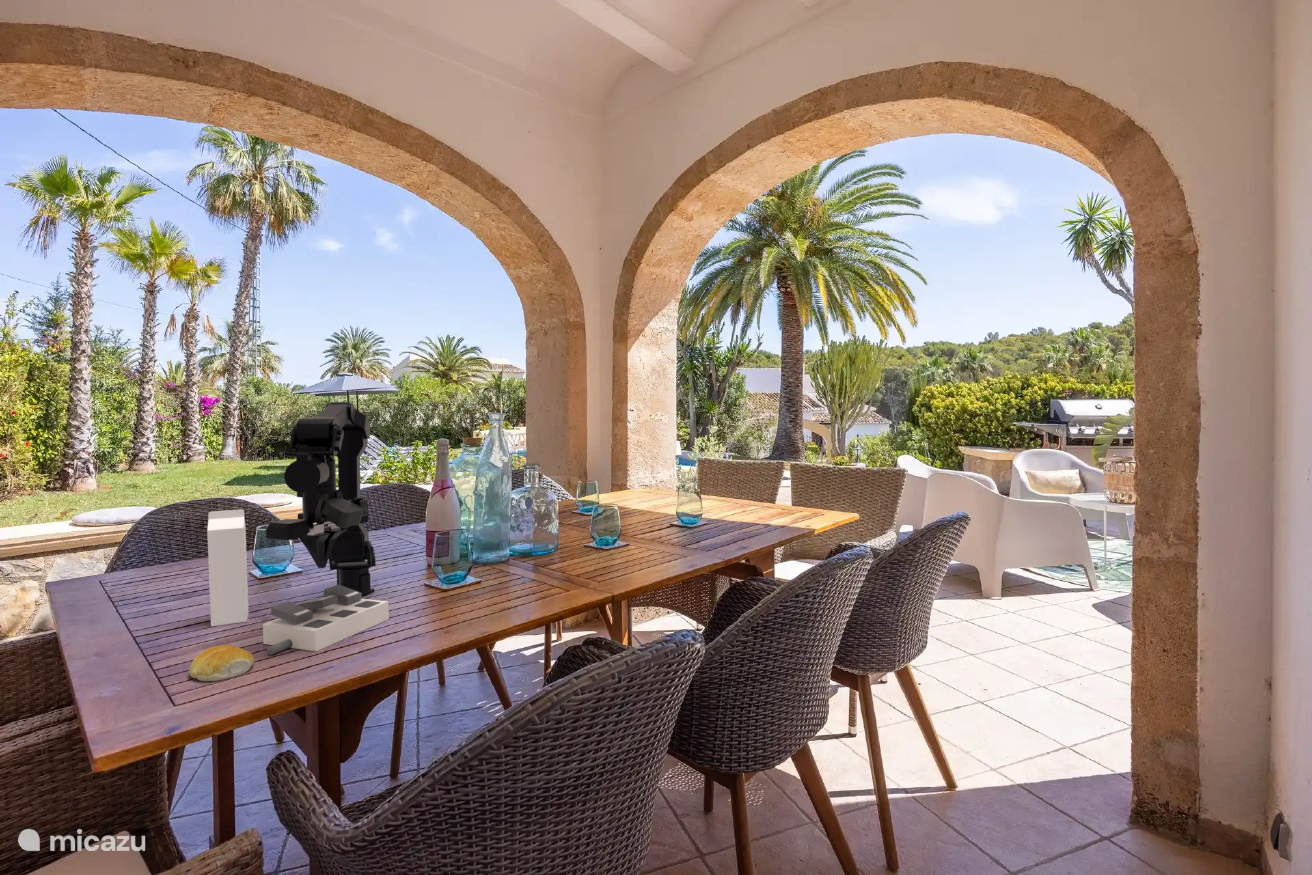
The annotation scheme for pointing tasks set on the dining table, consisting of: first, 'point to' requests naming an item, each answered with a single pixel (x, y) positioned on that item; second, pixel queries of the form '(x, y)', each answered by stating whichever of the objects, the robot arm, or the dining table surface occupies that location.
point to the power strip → (325, 626)
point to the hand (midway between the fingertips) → (321, 567)
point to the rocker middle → (319, 602)
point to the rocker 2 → (343, 594)
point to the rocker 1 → (291, 612)
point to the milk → (227, 567)
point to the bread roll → (221, 663)
